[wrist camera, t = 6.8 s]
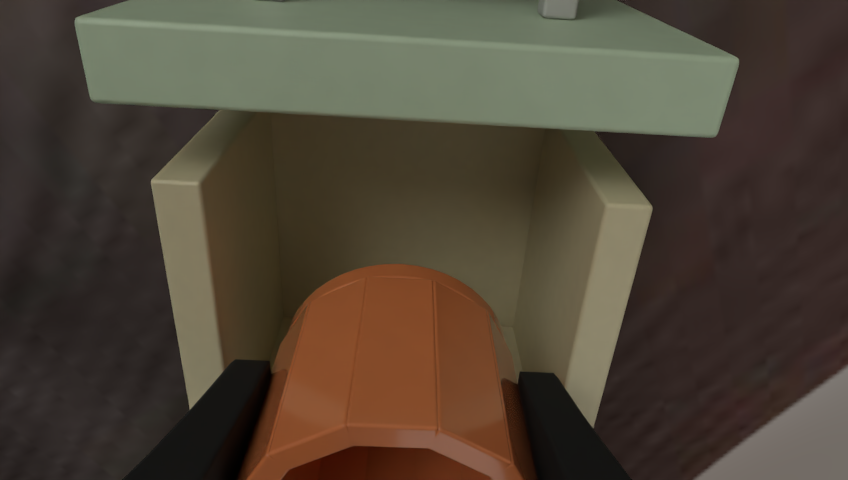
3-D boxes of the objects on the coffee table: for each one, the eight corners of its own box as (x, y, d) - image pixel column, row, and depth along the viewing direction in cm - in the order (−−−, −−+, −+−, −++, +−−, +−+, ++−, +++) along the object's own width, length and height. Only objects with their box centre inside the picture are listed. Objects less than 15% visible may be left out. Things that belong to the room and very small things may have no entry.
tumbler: (291, 430, 13) (244, 621, 10) (280, 256, 11) (215, 420, 7) (492, 438, 13) (518, 628, 10) (520, 268, 11) (565, 433, 8)
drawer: (186, -268, 11) (-25, -427, 6) (662, -231, 12) (870, -349, 6) (244, 314, 18) (169, 490, 13) (549, 328, 18) (605, 505, 13)
